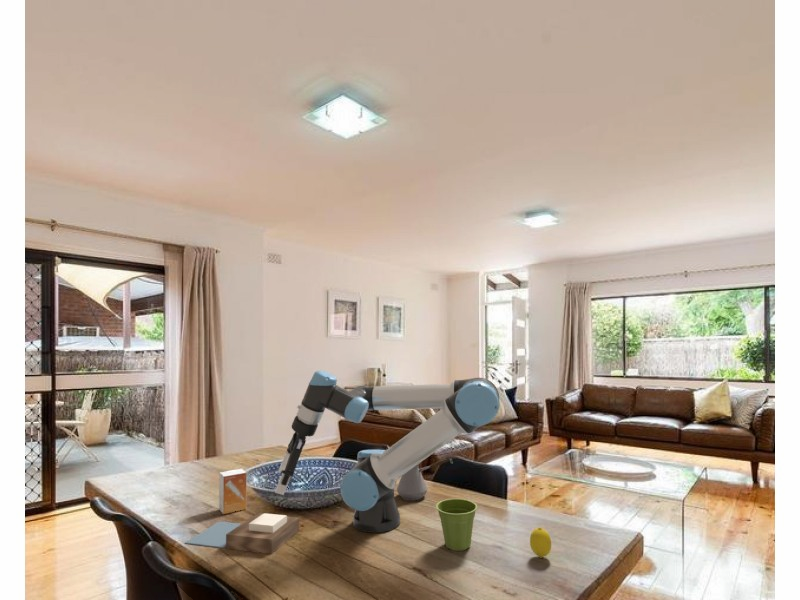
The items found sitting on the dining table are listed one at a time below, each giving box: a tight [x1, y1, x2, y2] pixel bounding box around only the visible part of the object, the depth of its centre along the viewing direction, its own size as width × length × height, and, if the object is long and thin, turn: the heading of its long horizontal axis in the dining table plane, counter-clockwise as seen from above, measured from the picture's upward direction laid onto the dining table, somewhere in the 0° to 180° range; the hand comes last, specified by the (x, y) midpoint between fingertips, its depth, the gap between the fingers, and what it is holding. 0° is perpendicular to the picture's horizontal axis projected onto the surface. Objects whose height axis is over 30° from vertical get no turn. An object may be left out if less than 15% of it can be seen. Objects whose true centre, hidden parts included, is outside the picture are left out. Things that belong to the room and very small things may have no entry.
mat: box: [184, 521, 242, 549], centre depth 148 cm, size 14×16×1 cm
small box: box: [218, 468, 247, 515], centre depth 169 cm, size 8×6×13 cm
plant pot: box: [435, 498, 478, 552], centre depth 137 cm, size 12×12×11 cm
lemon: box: [529, 526, 552, 559], centre depth 129 cm, size 6×6×8 cm
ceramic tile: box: [249, 512, 288, 533], centre depth 144 cm, size 8×8×2 cm
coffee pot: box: [396, 457, 454, 501], centre depth 177 cm, size 21×12×15 cm, turn 73°
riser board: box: [225, 513, 300, 555], centre depth 144 cm, size 15×16×4 cm
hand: (280, 482), depth 147 cm, fingers open, 13 cm apart
